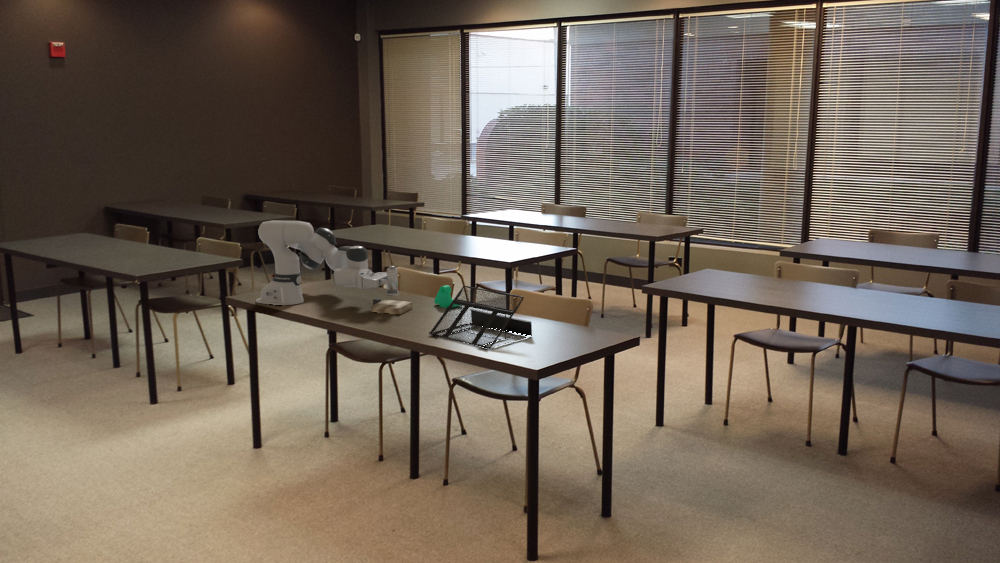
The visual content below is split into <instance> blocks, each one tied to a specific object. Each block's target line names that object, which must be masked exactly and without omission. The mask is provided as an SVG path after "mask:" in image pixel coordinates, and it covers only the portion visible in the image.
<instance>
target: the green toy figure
mask: <svg viewBox="0 0 1000 563" xmlns="http://www.w3.org/2000/svg"><path fill="white" fill-rule="evenodd" d="M451 293H452V288H451V286H450V285H448V284H446V285H441V286H440V287H439V289H438V291H437V294H436V296H435V297H434V299H433V300H434V302H433V304H436V305H439V307H440V308H444V309H445V308H446V309H447V308H448V307H449V305H450V304H451V302H452V301H453V300H454V298H452V295H451ZM457 305H458V304H455V305H454V304H453V307H457ZM458 307H461V305H460V306H459V305H458Z"/></svg>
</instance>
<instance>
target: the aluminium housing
mask: <svg viewBox="0 0 1000 563" xmlns="http://www.w3.org/2000/svg"><path fill="white" fill-rule="evenodd" d="M386 272H387V280H392V283H391V284H386V292H385V296H388V297H395V296H396V297H398V296H399V295H400V292H399V290H398V285H399V284H398V277H399V276H398V275H399V274H398V273H399V272H398V268H397V267H396V266H395V265H389V266H388V268H386Z"/></svg>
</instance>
